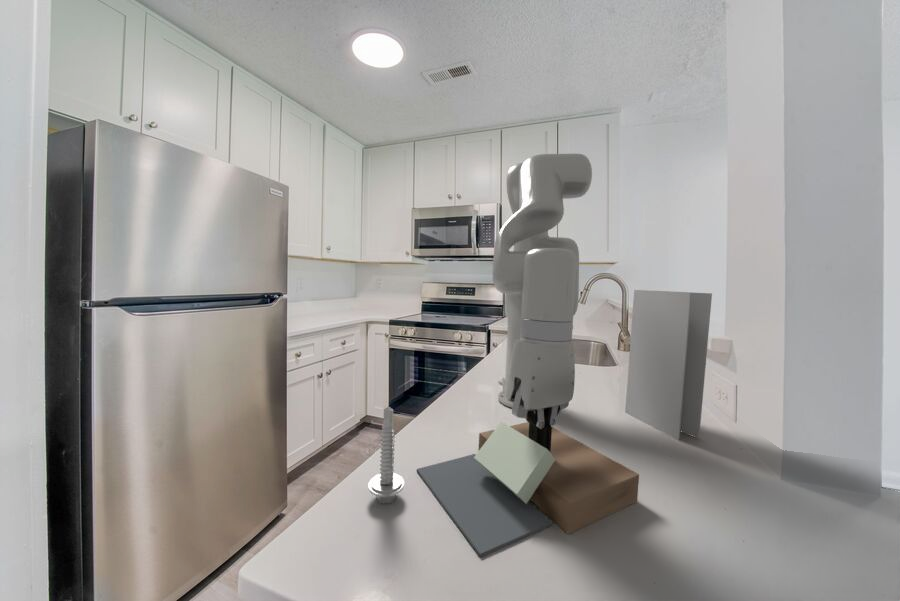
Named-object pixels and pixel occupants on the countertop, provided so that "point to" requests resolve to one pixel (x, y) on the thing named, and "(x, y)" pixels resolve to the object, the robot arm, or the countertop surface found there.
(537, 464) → the tile
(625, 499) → the brown wooden flat block
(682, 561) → the countertop surface
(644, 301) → the brochure
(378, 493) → the screw
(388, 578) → the countertop surface
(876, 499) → the countertop surface
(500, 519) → the mat
